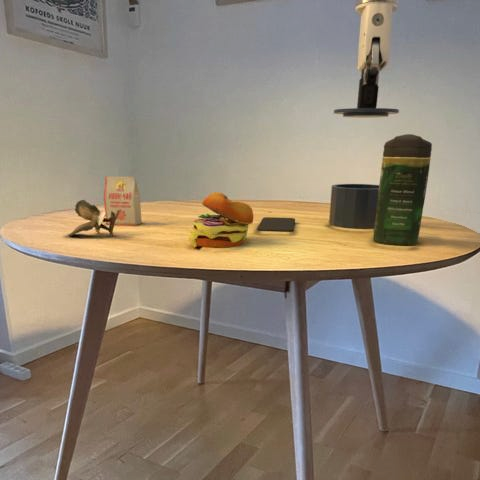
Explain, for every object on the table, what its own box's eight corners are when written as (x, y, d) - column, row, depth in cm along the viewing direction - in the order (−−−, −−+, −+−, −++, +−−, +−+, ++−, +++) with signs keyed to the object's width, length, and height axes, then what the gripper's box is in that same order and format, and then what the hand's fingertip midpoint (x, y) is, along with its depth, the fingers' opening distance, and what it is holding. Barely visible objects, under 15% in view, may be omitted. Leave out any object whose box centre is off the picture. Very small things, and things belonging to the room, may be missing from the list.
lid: (392, 118, 99) (396, 82, 96) (404, 115, 87) (409, 74, 85) (331, 117, 100) (334, 82, 98) (335, 115, 88) (338, 75, 86)
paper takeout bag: (113, 221, 106) (109, 175, 103) (141, 222, 105) (138, 176, 102) (106, 224, 103) (101, 177, 99) (135, 225, 102) (131, 177, 98)
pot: (379, 223, 106) (383, 184, 103) (387, 232, 96) (392, 189, 93) (327, 221, 108) (330, 183, 105) (330, 230, 97) (333, 188, 94)
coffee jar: (417, 250, 80) (434, 133, 73) (370, 246, 82) (382, 133, 76) (418, 240, 88) (434, 134, 82) (375, 236, 91) (387, 134, 84)
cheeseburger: (178, 241, 85) (189, 185, 83) (230, 250, 90) (242, 198, 88) (197, 251, 77) (209, 190, 74) (254, 261, 82) (267, 203, 79)
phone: (255, 229, 93) (263, 217, 107) (255, 233, 94) (263, 220, 107) (293, 230, 92) (295, 217, 106) (292, 234, 93) (295, 221, 106)
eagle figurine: (121, 225, 95) (77, 216, 95) (118, 197, 90) (72, 188, 89) (110, 251, 91) (64, 242, 90) (107, 224, 85) (57, 215, 85)
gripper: (406, -13, 78) (392, 107, 85) (390, 12, 94) (379, 111, 100) (361, -12, 79) (350, 107, 86) (351, 12, 95) (343, 111, 101)
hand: (366, 108), depth 93 cm, fingers closed on lid, 3 cm apart
